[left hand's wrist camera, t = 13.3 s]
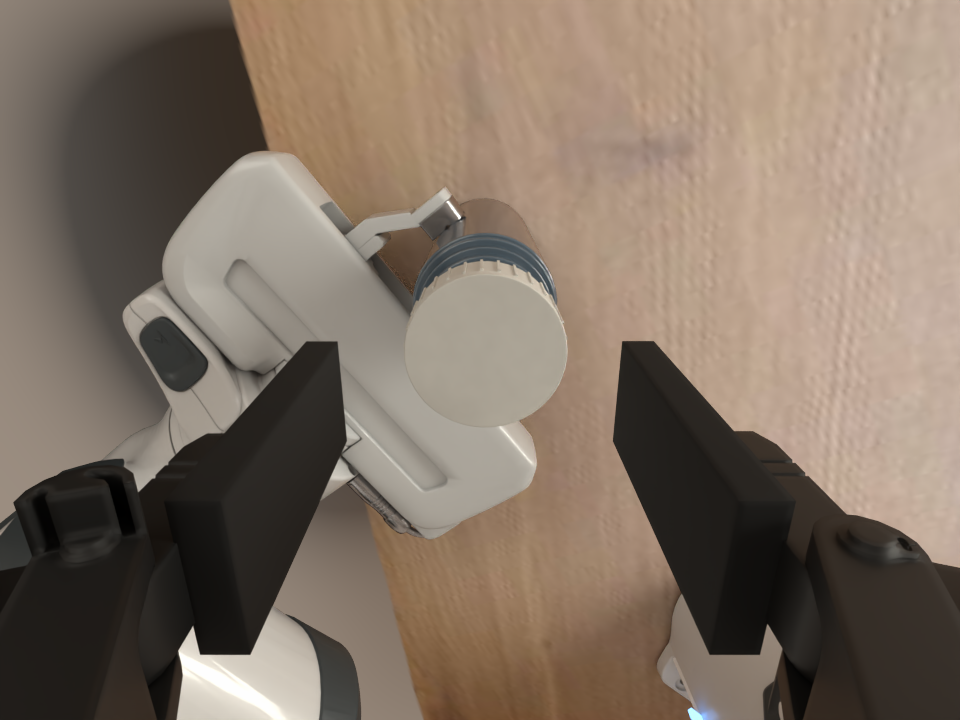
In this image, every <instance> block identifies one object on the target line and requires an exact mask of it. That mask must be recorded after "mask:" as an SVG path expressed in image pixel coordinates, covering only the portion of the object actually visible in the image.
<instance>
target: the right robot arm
mask: <svg viewBox="0 0 960 720" xmlns="http://www.w3.org/2000/svg"><path fill="white" fill-rule="evenodd" d="M464 213H465V212H464V210H463V209H462V208H461V206H460V205H459V204H458V202H457V201H456V200H455V198H454V197H453V196H452V194H451V193H450V192H449V190H448V189H447V188H446V187H443V188H442V189H441V190H439V191H438V192H437V193H436V194H434V195H433V196H432V197H431V198H430V199H428V200H427V201H426V202H425V203H424V204H422V205H421V206H420V207H419V208H418V209H416V210H415V209H414V208H410V209H403V210H396V211H389V212H382V213H375V214H372V215H371V216H369V217H368V218H366V219H365V220H364V221H362V222H361V223H360V224H359V225H358V226H356V227H355V226H354V224H353V223H352V222H351V221H350V220H349V218H348V217H347V216H346V215H345V214H344V213H343V211H342V210H341V209H340V208H339V207H338V205H337V204H336V203H335V202H334V201H333V199H332V198H331V197H330V196H329V195H328V194H327V192H326V191H325V190H324V189H323V188H322V186H321V185H320V184H319V183H318V182H317V181H316V179H315V178H314V177H313V176H312V175H311V173H310V172H309V171H308V170H307V169H306V167H305V166H304V165H303V164H302V163H301V161H300V160H299V159H298V158H297V157H296V156H294V155H292V154H290V153H284V152H275V151H258V152H253V153H250V154H247V155H245V156H243V157H241V158H240V159H239V160H237V161H236V162H235V163H234V164H233V165H232V166H231V167H230V168H229V169H227V170H226V171H225V173H224V174H223V175H222V176H221V177H220V178H219V179H218V180H217V181H216V182H215V183H214V184H213V185H212V186H211V187H210V189H209V190H208V191H207V192H206V193H205V194H204V195H203V196H202V198H201V199H200V200H199V201H198V203H197V204H196V205H195V206H194V207H193V209H192V210H191V211H190V212H189V214H188V215H187V216H186V218H185V219H184V220H183V222H182V223H181V225H180V226H179V227H178V229H177V230H176V231H175V233H174V234H173V236H172V238H171V239H170V241H169V243H168V245H167V247H166V250H165V253H164V257H163V263H162V273H163V278H164V279H163V280H161V281H159V282H158V283H156V284H155V285H153V286H151V287H150V288H148V289H147V290H145V291H144V292H143V293H141V294H140V295H139V296H137V297H136V298H135V299H134V300H133V301H132V302H130V303H129V304H128V305H127V307H126V308H125V310H124V312H123V322H124V325H125V327H126V329H127V331H128V333H129V335H130V337H131V338H132V340H133V341H134V343H135V345H136V346H137V348H138V349H139V351H140V353H141V354H142V356H143V358H144V359H145V361H146V362H147V364H148V366H149V367H150V369H151V371H152V372H153V374H154V376H155V378H156V379H157V381H158V383H159V385H160V387H161V388H162V390H163V392H164V394H165V396H166V398H167V400H168V402H169V404H170V406H169V408H168V410H167V411H166V413H165V415H164V416H163V418H162V420H161V421H160V422H159V423H157V424H155V425H153V426H150V427H147V428H144V429H142V430H140V431H138V432H137V433H135V434H133V435H131V436H130V437H129V438H127V439H126V440H125V441H123V442H122V443H121V444H120V445H119V446H117V447H116V448H115V449H114V450H113V451H112V452H110V453H109V454H108V455H107V456H106V457H105V458H104V459H103V460H102V461H98V462H93V463H89V464H86V465H82V466H78V467H75V468H72V469H68V470H65V471H62V472H61V473H64V472H67V471H71V470H75V469H80V468H84V467H88V466H100V465H114V466H120V467H125V468H127V469H128V470H130V471H131V472H132V473H133V474H134V478H135V482H136V486H137V490H138V492H139V491H140V490H141V489H142V488H143V487H144V486H145V485H146V484H147V483H148V482H149V481H150V480H151V479H152V478H155V475H156V474H157V473H158V472H159V471H160V470H161V469H162V468H163V467H164V466H165V465H168V462H169V461H170V460H171V459H172V458H173V457H174V456H175V455H176V454H177V453H178V452H179V451H180V450H181V449H182V448H183V447H184V446H185V445H187V444H189V443H191V442H193V441H194V440H196V439H198V438H200V437H202V436H203V435H205V434H207V433H225V432H226V431H227V430H228V429H229V427H230V426H231V425H232V424H233V423H234V422H235V421H236V420H237V418H238V417H239V416H240V415H241V414H242V413H243V412H244V411H245V409H246V408H247V407H248V406H249V405H250V404H251V403H252V402H253V401H254V399H255V398H256V397H257V396H258V395H259V394H260V393H261V392H262V390H263V389H264V388H265V387H266V386H267V385H268V384H269V383H270V381H271V380H272V379H273V378H274V377H275V376H276V375H277V374H278V372H279V371H280V370H281V369H282V368H283V367H284V366H285V365H286V364H287V362H288V361H289V360H290V359H291V358H292V357H293V356H294V355H295V353H296V352H297V351H298V350H299V349H300V348H301V347H302V346H303V344H304V343H305V342H306V341H338V350H339V361H340V371H341V382H342V393H343V403H344V414H345V424H346V435H347V442H346V444H345V447H344V449H343V451H342V453H341V456H340V458H339V460H338V462H337V464H336V467H335V469H334V471H333V473H332V475H331V478H330V480H329V482H328V484H327V487H326V489H325V491H324V493H323V495H322V498H321V500H323V499H324V498H326V497H327V496H329V495H330V494H331V493H333V492H334V491H336V490H337V489H338V488H340V487H341V486H343V485H344V484H345V483H346V484H347V485H348V486H349V487H350V488H351V489H352V490H353V491H354V492H355V493H356V494H357V495H358V496H359V497H360V498H361V499H362V500H364V501H365V502H366V503H367V504H369V505H370V506H371V507H373V508H374V509H375V510H376V511H377V512H378V513H379V514H380V515H381V516H382V517H383V518H384V521H385V522H386V523H387V524H388V525H389V526H390V527H391V528H392V529H393V530H395V531H396V532H398V533H400V534H403V533H405V532H407V533H409V534H410V535H413V536H416V537H420V538H426V539H434V538H437V537H439V536H441V535H443V534H444V533H446V532H447V531H449V530H451V529H452V528H454V527H455V526H457V525H458V524H459V523H460V522H461V521H464V520H466V519H468V518H471V517H473V516H475V515H477V514H480V513H482V512H484V511H486V510H488V509H490V508H492V507H494V506H496V505H498V504H500V503H502V502H504V501H506V500H508V499H509V498H511V497H513V496H515V495H517V494H518V493H520V492H522V491H523V490H525V489H526V488H527V487H528V486H529V485H530V484H531V482H532V480H533V477H534V474H535V471H536V467H537V459H536V451H535V447H534V442H533V439H532V437H531V435H530V434H529V432H528V431H527V430H526V429H525V428H524V426H523V425H522V424H521V423H520V422H519V421H517V422H514V423H511V424H507V425H504V426H497V427H473V426H468V425H463V424H460V423H457V422H454V421H452V420H450V419H447V418H445V417H443V416H442V415H440V414H439V413H437V412H436V411H434V410H433V409H432V408H431V407H429V406H428V405H427V404H426V403H425V402H424V401H423V400H422V398H421V397H420V396H419V395H418V393H417V392H416V390H415V389H414V387H413V385H412V383H411V381H410V379H409V376H408V374H407V370H406V366H405V361H404V347H403V344H404V340H405V335H406V331H405V328H406V326H407V323H408V321H409V319H410V316H411V315H410V314H411V312H412V310H413V295H412V293H411V292H410V291H409V290H408V289H407V287H406V286H405V285H404V284H403V283H402V281H401V280H400V279H399V278H398V277H397V276H396V274H395V273H394V272H393V271H392V270H391V268H390V267H389V266H388V265H387V264H386V262H385V261H384V260H383V259H382V258H381V257H380V255H379V254H378V253H377V251H378V250H380V249H381V248H382V247H383V246H384V245H385V244H386V243H387V242H388V241H389V240H390V239H391V235H390V234H389V233H388V232H390V231H397V230H403V229H409V228H416V227H420V226H421V227H422V228H423V229H424V231H425V232H426V233H427V234H428V235H429V237H430V238H431V239H432V240H434V239H435V238H437V237H438V236H439V235H441V233H442V232H443V231H444V230H445V228H446V226H447V225H452V224H454V223H455V222H457V221H458V220H459V219H460V218H461V217H462V216H463V215H464ZM61 473H59V474H61ZM59 474H58V475H59ZM321 500H320V501H321ZM411 525H413V526H414V527H415V528H416V529H415V528H413V527H411ZM31 557H32V555H31V552H30V549H29V546H28V543H27V540H26V538H25V535H24V532H23V529H22V526H21V523H20V520H19V517H18V515H17V512H16V511H15V512H14V513H12V514H11V515H10V516H9V517H8V518H6V519H5V520H4V521H2V522H1V523H0V571H1V570H6V569H11V568H16V567H21V566H26V565H27V564H28V563H29V561H30V559H31ZM178 652H179V656H180V660H181V664H182V672H183V679H182V686H181V693H180V700H179V707H178V714H177V720H361V702H360V691H359V683H358V677H357V672H356V668H355V664H354V661H353V659H352V657H351V655H350V653H349V652H348V650H347V649H346V648H345V647H344V646H343V645H342V644H340V643H339V642H337V641H335V640H333V639H332V638H330V637H328V636H326V635H325V634H323V633H321V632H319V631H317V630H316V629H314V628H312V627H310V626H309V625H307V624H305V623H303V622H301V621H300V620H298V619H296V618H295V617H292V616H289V615H287V614H284V613H282V612H281V611H280V610H278V609H277V608H275V607H274V606H272V608H271V611H270V613H269V615H268V617H267V619H266V622H265V624H264V626H263V628H262V631H261V633H260V635H259V637H258V639H257V642H256V644H255V646H254V648H253V650H252V653H251V655H200V653H199V649H198V645H197V640H196V636H195V632H194V628H193V627H192V629H191V630H190V632H189V634H188V635H187V637H186V639H185V640H184V642H183V644H182V645H181V647H180V649H179V650H178ZM781 652H782V647H781V646H780V644H779V642H778V641H777V639H776V637H775V636H774V634H773V632H772V631H771V629H770V627H769V626H768V624H767V628H766V632H765V636H764V640H763V645H762V649H761V653H760V655H709V653H708V650H707V648H706V646H705V644H704V642H703V639H702V637H701V635H700V633H699V631H698V628H697V626H696V624H695V622H694V619H693V617H692V615H691V613H690V611H689V608H688V606H687V604H686V602H685V600H684V597H683V595H682V593H681V595H680V597H679V599H678V601H677V603H676V605H675V608H674V612H673V616H672V624H671V636H670V640H669V643H668V645H667V646H666V648H665V649H664V651H663V652H662V654H661V656H660V658H659V660H658V662H657V670H658V673H659V675H660V677H661V679H662V681H663V682H664V683H665V684H666V685H668V686H669V687H670V688H672V689H673V690H675V691H676V692H678V693H679V694H680V695H682V696H683V697H685V698H686V699H688V700H689V701H690V702H691V703H692V705H693V708H694V709H692V708H690V709H689V710H688V712H689V715H690V718H691V719H692V720H784V719H783V712H782V705H781V702H779V705H778V709H777V713H776V716H775V715H772V714H769V713H767V712H768V705H769V699H770V695H771V691H772V687H773V683H774V679H775V676H776V672H777V668H778V664H779V660H780V656H781Z"/></svg>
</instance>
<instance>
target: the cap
mask: <svg viewBox="0 0 960 720" xmlns="http://www.w3.org/2000/svg"><path fill="white" fill-rule="evenodd" d="M410 315H411V316H410V319H409V321H408V323H407V326H406V328H405V331H406V335H405V340H404V344H403V347H404V361H405V366H406V370H407V374H408V376H409V379H410V381H411V383H412V385H413V387H414V389H415V390H416V392H417V393H418V395H419V396H420V397H421V398H422V400H423V401H424V402H425V403H426V404H427V405H428V406H429V407H431V408H432V409H433V410H434V411H436V412H437V413H439V414H440V415H442V416H443V417H445V418H447V419H450V420H452V421H454V422H457V423H460V424H463V425H468V426H473V427H497V426H504V425H507V424H511V423H514V422H517V421H519V420H522V419H524V418H525V417H527V416H529V415H531V414H532V413H534V412H535V411H537V410H538V409H539V408H540V407H541V406H543V405H544V404H545V403H546V402H547V401H548V399H549V398H550V397H551V396H552V395H553V393H554V392H555V390H556V389H557V387H558V385H559V383H560V381H561V379H562V377H563V374H564V371H565V367H566V361H567V335H566V333H565V330H564V327H563V324H564V321H563V319H562V317H561V314H560V312H559V310H558V308H557V306H556V304H555V302H554V300H553V297H552V295H551V294H550V295H549V294H548V293H547V292H546V290H545V288H544V286H543V284H542V283H541V282H540V283H539V282H538V281H536V280H535V279H534V278H533V277H532V276H531V274H530V273H529V272H527V273H526V272H524V271H522V270H520V269H519V268H516V265H514V264H513V266H511V265H508V264H504V263H500V260H497V262H492V261H483V259H480V261H477V262H471V263H467V262H464V264H463V265H460V266H457V267H455V268H453V269H451V267H450V268H448V271H447V272H445V273H444V274H442V275H440V276H439V277H437V276H436V277H435V278H434V281H433V282H432V283H431V284H430V285H429V286H428V288H426V287H425V288H424V289H423V292H422V294H421V297H420V299H419V301H417V300H416V302H415V305H414V307H413V310H412V312H411V314H410Z"/></svg>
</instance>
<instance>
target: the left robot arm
mask: <svg viewBox="0 0 960 720" xmlns="http://www.w3.org/2000/svg"><path fill="white" fill-rule="evenodd" d="M346 442H347V435H346V424H345V414H344V403H343V393H342V382H341V371H340V361H339V350H338V341H306V342H305V343H304V344H303V346H302V347H301V348H300V349H299V350H298V351H297V352H296V353H295V355H294V356H293V357H292V358H291V359H290V360H289V361H288V362H287V364H286V365H285V366H284V367H283V368H282V369H281V370H280V371H279V372H278V374H277V375H276V376H275V377H274V378H273V379H272V380H271V381H270V383H269V384H268V385H267V386H266V387H265V388H264V389H263V390H262V392H261V393H260V394H259V395H258V396H257V397H256V398H255V399H254V401H253V402H252V403H251V404H250V405H249V406H248V407H247V408H246V409H245V411H244V412H243V413H242V414H241V415H240V416H239V417H238V418H237V420H236V421H235V422H234V423H233V424H232V425H231V426H230V427H229V429H228V430H227V431H226V432H225V433H207V434H205V435H203V436H202V437H200V438H198V439H196V440H194V441H193V442H191V443H189V444H187V445H185V446H184V447H183V448H182V449H181V450H180V451H179V452H178V453H177V454H176V455H175V456H174V457H173V458H172V459H171V460H170V461H169V462H168V465H165V466H164V467H163V468H162V469H161V470H160V471H159V472H158V473H157V474H156V475H155V478H152V479H151V480H150V481H149V482H148V483H147V484H146V485H145V486H144V487H143V488H142V489H141V490H140V491H139V492H138V490H137V486H136V482H135V478H134V474H133V473H132V472H131V471H130V470H128V469H127V468H125V467H120V466H114V465H100V466H88V467H84V468H80V469H75V470H71V471H67V472H64V473H61V474H59V475H56V476H54V477H51V478H48V479H46V480H44V481H42V482H40V483H38V484H37V485H35V486H33V487H31V488H30V489H28V490H26V491H25V492H24V493H23V494H22V495H21V496H20V497H19V498H18V499H17V500H15V501H14V506H15V509H16V512H17V515H18V517H19V520H20V523H21V526H22V529H23V532H24V535H25V538H26V540H27V543H28V546H29V549H30V552H31V555H32V557H31V559H30V561H29V563H28V564H27V565H26V566H21V567H16V568H11V569H6V570H1V571H0V720H177V714H178V707H179V700H180V693H181V686H182V679H183V672H182V664H181V660H180V656H179V652H178V650H179V649H180V647H181V645H182V644H183V642H184V640H185V639H186V637H187V635H188V634H189V632H190V630H191V629H192V627H193V628H194V632H195V636H196V640H197V645H198V649H199V653H200V655H251V653H252V650H253V648H254V646H255V644H256V642H257V639H258V637H259V635H260V633H261V631H262V628H263V626H264V624H265V622H266V619H267V617H268V615H269V613H270V611H271V608H272V606H273V604H274V602H275V600H276V597H277V595H278V593H279V591H280V588H281V586H282V584H283V582H284V580H285V577H286V575H287V573H288V571H289V568H290V566H291V564H292V562H293V559H294V557H295V555H296V553H297V551H298V549H299V546H300V544H301V542H302V540H303V537H304V535H305V533H306V531H307V529H308V526H309V524H310V522H311V520H312V518H313V515H314V513H315V511H316V509H317V506H318V504H319V502H320V500H321V498H322V495H323V493H324V491H325V489H326V487H327V484H328V482H329V480H330V478H331V475H332V473H333V471H334V469H335V467H336V464H337V462H338V460H339V458H340V456H341V453H342V451H343V449H344V447H345V444H346ZM613 442H614V444H615V447H616V449H617V451H618V453H619V456H620V458H621V460H622V462H623V464H624V467H625V469H626V471H627V473H628V475H629V478H630V480H631V482H632V484H633V487H634V489H635V491H636V493H637V495H638V498H639V500H640V502H641V504H642V506H643V509H644V511H645V513H646V515H647V518H648V520H649V522H650V524H651V526H652V529H653V531H654V533H655V535H656V537H657V540H658V542H659V544H660V546H661V549H662V551H663V553H664V555H665V557H666V560H667V562H668V564H669V566H670V568H671V571H672V573H673V575H674V577H675V580H676V582H677V584H678V586H679V588H680V591H681V593H682V595H683V597H684V600H685V602H686V604H687V606H688V608H689V611H690V613H691V615H692V617H693V619H694V622H695V624H696V626H697V628H698V631H699V633H700V635H701V637H702V639H703V642H704V644H705V646H706V648H707V650H708V653H709V655H760V653H761V649H762V645H763V640H764V636H765V632H766V628H767V624H768V626H769V627H770V629H771V631H772V632H773V634H774V636H775V637H776V639H777V641H778V642H779V644H780V646H781V647H782V652H781V656H780V660H779V664H778V668H777V672H776V676H775V679H774V683H773V687H772V691H771V695H770V699H769V705H768V712H767V713H769V714H772V715H775V716H776V713H777V709H778V705H779V702H781V705H782V712H783V719H784V720H960V568H958V567H953V566H948V565H942V564H937V563H933V562H931V560H930V558H929V556H928V555H927V554H926V552H925V551H924V550H923V549H922V548H921V547H920V546H919V544H918V543H917V542H915V541H914V540H912V539H911V538H909V537H908V536H906V535H905V534H904V533H902V532H901V531H899V530H897V529H894V528H892V527H890V526H888V525H885V524H883V523H881V522H879V521H875V520H872V519H868V518H864V517H861V516H856V515H847V514H846V513H845V512H844V511H843V510H842V509H841V508H840V507H839V506H838V505H837V504H836V503H835V502H834V501H833V500H832V499H831V498H830V497H829V496H828V495H827V494H826V493H825V492H824V491H823V490H822V489H821V488H820V487H819V486H818V485H817V484H816V483H815V482H814V481H813V480H812V479H811V478H810V477H809V476H805V472H804V471H803V470H802V469H801V468H800V467H799V466H798V465H797V464H796V463H792V459H791V458H790V457H789V456H788V455H787V454H786V453H785V452H784V451H783V450H782V449H781V448H780V447H779V446H778V445H777V444H775V443H773V442H771V441H770V440H768V439H766V438H764V437H762V436H760V435H759V434H757V433H755V432H753V431H733V430H732V429H731V427H730V426H729V425H728V424H727V423H726V422H725V421H724V420H723V418H722V417H721V416H720V415H719V414H718V413H717V412H716V411H715V409H714V408H713V407H712V406H711V405H710V404H709V403H708V402H707V401H706V399H705V398H704V397H703V396H702V395H701V394H700V393H699V392H698V390H697V389H696V388H695V387H694V386H693V385H692V384H691V383H690V381H689V380H688V379H687V378H686V377H685V376H684V375H683V374H682V372H681V371H680V370H679V369H678V368H677V367H676V366H675V365H674V364H673V362H672V361H671V360H670V359H669V358H668V357H667V356H666V355H665V353H664V352H663V351H662V350H661V349H660V348H659V347H658V346H657V344H656V343H655V342H654V341H622V350H621V361H620V371H619V382H618V393H617V403H616V414H615V424H614V435H613Z"/></svg>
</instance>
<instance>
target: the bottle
mask: <svg viewBox="0 0 960 720" xmlns="http://www.w3.org/2000/svg"><path fill="white" fill-rule="evenodd" d="M460 206H461V208H462V209H463V210H464V212H465V213H464V215H463V216H462V217H461V218H460V219H459V220H458V221H457V222H455V223H454V224H452V225H447V226H446V228H445V230H444V231H443V232H442V233H441V235H439V236H438V237H437V238H436V240H435V242H434V244H433V246H432V248H431V250H430V253H429V255H428V257H427V259H426V261H425V263H424V265H423V267H422V269H421V271H420V273H419V275H418V278H417V281H416V284H415V288H414V293H413V307H414V305H415V302H416V300H417V301H419V299H420V297H421V294H422V292H423V289H424V288H425V287H426V288H428V286H429V285H430V284H431V283H432V282H433V281H434V278H435V277H436V276H437V277H439V276H440V275H442V274H444V273H445V272H447V271H448V268H450V267H451V269H453V268H455V267H457V266H460V265H463V264H464V262H467V263H471V262H477V261H480V259H483V261H492V262H497V260H500V263H504V264H508V265H511V266H513V264H514V265H516V268H519V269H520V270H522V271H524V272H526V273H527V272H529V273H530V274H531V276H532V277H533V278H534V279H535V280H536V281H538V282H539V283H540V282H541V283H542V284H543V286H544V288H545V290H546V292H547V293H548V294H549V295H550V294H551V295H552V297H553V300H554V302H555V304H556V306H557V294H556V288H555V284H554V281H553V278H552V276H551V273H550V271H549V269H548V267H547V265H546V263H545V261H544V260H543V258H542V256H541V254H540V252H539V250H538V248H537V246H536V244H535V242H534V240H533V238H532V236H531V234H530V232H529V230H528V228H527V226H526V225H525V223H524V221H523V219H522V218H521V217H520V215H519V214H518V213H517V212H516V211H515V210H514V209H513V208H511V207H510V206H509V205H507V204H505V203H503V202H500V201H498V200H494V199H486V198H484V199H475V200H471V201H468V202H466V203H463V204H462V205H460Z"/></svg>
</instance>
